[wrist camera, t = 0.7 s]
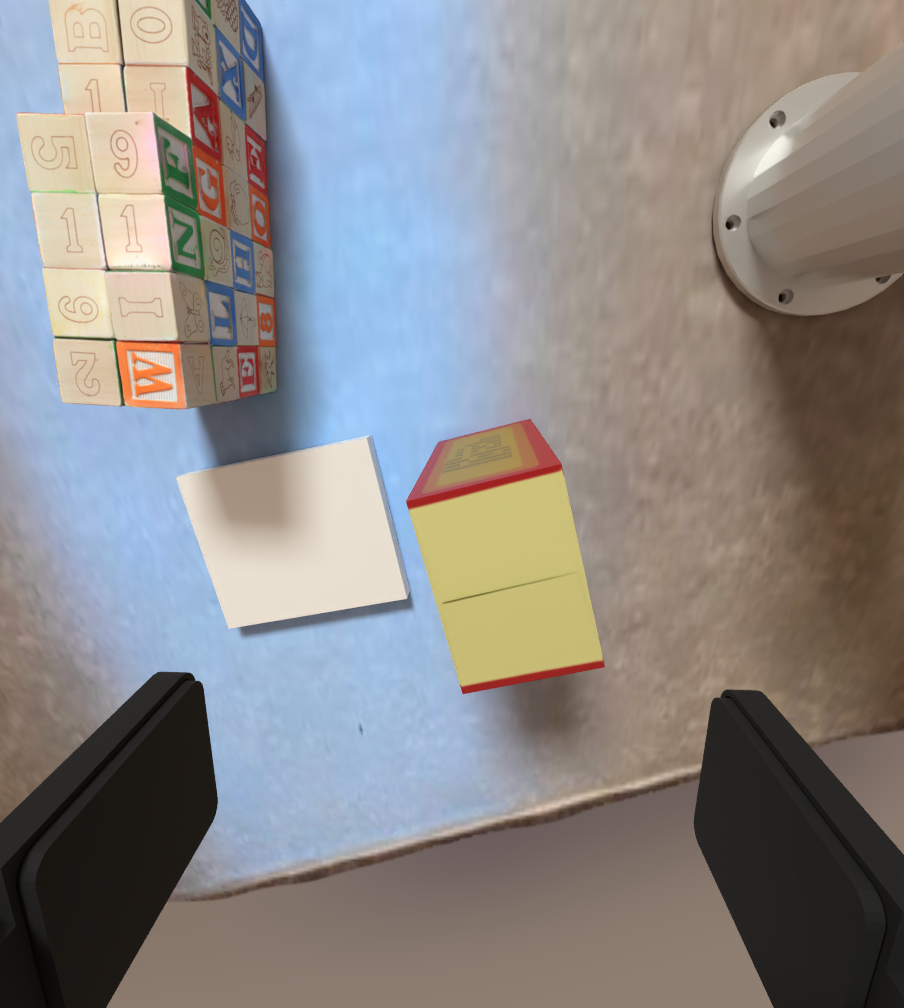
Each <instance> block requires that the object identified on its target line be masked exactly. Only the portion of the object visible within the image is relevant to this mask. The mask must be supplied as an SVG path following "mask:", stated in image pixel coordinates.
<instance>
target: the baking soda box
mask: <svg viewBox="0 0 904 1008" xmlns="http://www.w3.org/2000/svg"><path fill="white" fill-rule="evenodd" d="M406 502H407V506H408V509H409V513H410V516H411V519H412V523H413V526H414V530H415V533H416V536H417V540H418V543H419V547H420V550H421V553H422V557H423V560H424V564H425V567H426V570H427V574H428V577H429V581H430V584H431V587H432V591H433V594H434V598H435V601H436V604H437V608H438V611H439V615H440V618H441V622H442V625H443V628H444V632H445V635H446V639H447V642H448V645H449V649H450V652H451V656H452V659H453V662H454V666H455V669H456V673H457V676H458V679H459V683H460V686H461V690H462V693H463V694H466V693H471V692H477V691H482V690H487V689H492V688H498V687H503V686H508V685H513V684H519V683H524V682H529V681H534V680H540V679H545V678H550V677H555V676H561V675H566V674H571V673H576V672H582V671H587V670H592V669H597V668H603V667H605V666H604V661H603V656H602V652H601V647H600V642H599V638H598V633H597V628H596V624H595V619H594V614H593V610H592V605H591V600H590V596H589V591H588V586H587V582H586V577H585V572H584V567H583V563H582V558H581V553H580V549H579V544H578V539H577V535H576V530H575V525H574V521H573V516H572V511H571V507H570V502H569V497H568V493H567V488H566V483H565V479H564V474H563V469H562V465H561V463H560V461H559V460H558V458H557V457H556V455H555V454H554V452H553V451H552V450H551V448H550V447H549V445H548V444H547V442H546V441H545V439H544V438H543V437H542V435H541V434H540V432H539V431H538V429H537V428H536V426H535V425H534V424H533V422H532V421H531V419H528V420H524V421H520V422H516V423H512V424H508V425H504V426H500V427H496V428H492V429H488V430H484V431H480V432H476V433H473V434H469V435H465V436H461V437H457V438H453V439H449V440H445V441H441V442H438V444H437V446H436V447H435V449H434V451H433V453H432V455H431V457H430V458H429V460H428V462H427V464H426V466H425V468H424V469H423V471H422V473H421V475H420V477H419V479H418V480H417V482H416V484H415V486H414V488H413V489H412V491H411V493H410V495H409V497H408V499H407V500H406Z"/></svg>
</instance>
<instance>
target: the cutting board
mask: <svg viewBox="0 0 904 1008" xmlns="http://www.w3.org/2000/svg"><path fill="white" fill-rule="evenodd" d="M176 479H177V482H178V485H179V488H180V491H181V493H182V496H183V499H184V502H185V505H186V508H187V511H188V513H189V516H190V519H191V522H192V525H193V528H194V531H195V533H196V536H197V539H198V542H199V545H200V548H201V551H202V553H203V556H204V559H205V562H206V565H207V568H208V571H209V573H210V576H211V579H212V582H213V585H214V588H215V590H216V593H217V596H218V599H219V602H220V605H221V608H222V610H223V613H224V616H225V619H226V622H227V625H228V628H229V629H230V628H236V627H242V626H248V625H254V624H260V623H266V622H272V621H278V620H284V619H290V618H296V617H302V616H307V615H313V614H319V613H325V612H331V611H337V610H343V609H349V608H355V607H361V606H367V605H373V604H379V603H385V602H391V601H397V600H403V599H407V598H408V595H409V591H410V588H409V584H408V580H407V576H406V572H405V568H404V564H403V560H402V556H401V552H400V548H399V544H398V540H397V536H396V532H395V528H394V524H393V520H392V516H391V512H390V508H389V504H388V500H387V496H386V492H385V488H384V484H383V480H382V476H381V472H380V468H379V464H378V460H377V456H376V452H375V448H374V444H373V440H372V436H371V435H369V436H364V437H359V438H354V439H349V440H344V441H339V442H335V443H330V444H325V445H320V446H315V447H310V448H305V449H300V450H296V451H291V452H286V453H281V454H276V455H271V456H266V457H262V458H257V459H252V460H247V461H242V462H237V463H232V464H227V465H223V466H218V467H213V468H208V469H203V470H198V471H193V472H189V473H185V474H183V475H180V476H178V477H176Z"/></svg>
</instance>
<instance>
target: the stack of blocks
mask: <svg viewBox="0 0 904 1008" xmlns="http://www.w3.org/2000/svg"><path fill="white" fill-rule="evenodd" d="M49 6H50V14H51V21H52V28H53V35H54V41H55V49H56V56H57V60H58V63H59V67H58V71H59V79H60V86H61V93H62V99H63V105H64V111H65V114H42V113H17V114H16V116H17V124H18V130H19V136H20V142H21V148H22V152H23V158H24V165H25V171H26V176H27V182H28V188H29V190H30V192H31V197H32V206H33V213H34V219H35V224H36V229H37V234H38V241H39V248H40V253H41V258H42V262H43V265H44V268H43V270H42V271H43V278H44V284H45V290H46V296H47V303H48V309H49V315H50V321H51V326H52V332H53V335H54V336H55V339H54V340H53V348H54V354H55V361H56V367H57V374H58V380H59V387H60V394H61V398H62V401H63V402H64V403H71V404H88V405H104V406H125V405H126V406H130V407H145V408H165V409H189V408H194V407H199V406H204V405H209V404H220V403H222V402H228V401H234V400H237V399H240V398H245V397H249V396H253V395H257V394H264V393H270V392H275V391H277V378H276V351H275V347H276V321H275V300H274V266H273V251H272V249H271V245H270V244H271V237H270V217H269V199H268V197H267V168H266V148H265V142H266V140H267V133H266V111H265V89H264V83H263V81H264V73H263V53H262V31H261V24H260V22H259V20H258V19H257V17H256V16H255V14H254V13H253V12H252V10H251V8H250V7H249V5H248V4H247V2H246V1H245V0H49Z"/></svg>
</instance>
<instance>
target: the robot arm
mask: <svg viewBox="0 0 904 1008" xmlns="http://www.w3.org/2000/svg"><path fill="white" fill-rule="evenodd" d="M770 122H772V123H773V125H774V126H773V127H772V126H771V125H770ZM726 222H728V223H730V229H729V230H728V229H727V228H726V226H725V223H726ZM713 235H714V240H715V244H716V249H717V253H718V256H719V259H720V261H721V263H722V265H723V268H724V270H725V272H726V274H727V275H728V277H729V278H730V279H731V281H732V282H733V283H734V285H735V286H736V288H737V289H738V290H740V291H741V292H742V293H743V294H744V295H745V296H746V297H748V298H749V299H750V300H751V301H753V302H755V303H756V304H758V305H760V306H762V307H764V308H766V309H767V310H771V311H774V312H778V313H781V314H784V315H793V316H815V315H825V314H829V313H834V312H839V311H844V310H846V309H849V308H851V307H854V306H856V305H859V304H861V303H864V302H866V301H867V300H869V299H871V298H872V297H874V296H876V295H877V294H879V293H881V292H882V291H884V290H885V289H886V288H888V287H889V286H890V285H891V284H892V283H893V282H895V281H896V280H897V279H898V278H899V277H901V276H902V275H903V274H904V41H903V42H902V43H901V44H899V45H898V46H897V47H895V48H894V49H893V50H891V51H890V52H889V53H887V54H886V55H885V56H883V57H882V58H881V59H879V60H878V61H877V62H876V63H874V64H873V65H872V66H870V67H869V68H868V69H866V70H865V71H864V72H862V73H860V72H847V73H841V74H834V75H828V76H825V77H822V78H819V79H817V80H814V81H811V82H808V83H806V84H804V85H802V86H800V87H799V88H797V89H795V90H793V91H792V92H790V93H788V94H787V95H785V96H783V97H782V98H781V99H780V100H778V101H777V102H776V103H775V104H773V105H772V106H771V107H770V108H769V109H767V110H766V111H765V112H764V113H763V114H762V115H761V116H760V117H759V118H758V119H757V120H756V121H755V122H754V123H753V124H752V125H751V126H750V127H749V128H748V129H747V131H746V132H745V133H744V135H743V136H742V137H741V139H740V140H739V142H738V143H737V144H736V146H735V147H734V149H733V151H732V153H731V155H730V157H729V159H728V161H727V162H726V164H725V166H724V168H723V171H722V174H721V177H720V180H719V183H718V187H717V190H716V195H715V201H714V208H713ZM875 278H876V279H875ZM779 294H780V295H781V296H782V300H781V301H780V302H779V299H778V297H779ZM217 804H218V797H217V789H216V782H215V774H214V766H213V758H212V751H211V743H210V735H209V727H208V720H207V712H206V704H205V696H204V689H203V685H202V683H201V682H199V681H195V678H194V676H193V675H192V674H191V673H185V672H157V673H156V674H154V675H153V676H152V677H151V678H150V679H149V680H148V681H147V682H146V683H145V684H144V685H143V686H142V687H141V688H140V689H139V690H137V691H136V692H135V693H134V694H133V695H132V696H131V697H130V698H129V699H128V700H127V701H126V702H125V703H124V704H123V705H122V706H121V707H120V708H119V709H118V710H117V711H116V712H115V713H114V714H113V715H112V716H111V717H110V718H109V719H107V720H106V721H105V722H104V723H103V724H102V725H101V726H100V727H99V728H98V729H97V730H96V731H95V732H94V733H93V734H92V735H91V736H90V737H89V738H88V739H87V740H86V741H85V742H84V743H83V744H82V745H81V746H80V747H79V748H78V749H76V750H75V751H74V752H73V753H72V754H71V755H70V756H69V757H68V758H67V759H66V760H65V761H64V762H63V763H62V764H61V765H60V766H59V767H58V768H57V769H56V770H55V771H54V772H53V773H52V774H51V775H50V776H49V777H48V778H46V779H45V780H44V781H43V782H42V783H41V784H40V785H39V786H38V787H37V788H36V789H35V790H34V791H33V792H32V793H31V794H30V795H29V796H28V797H27V798H26V799H25V800H24V801H23V802H22V803H21V804H20V805H19V806H18V807H16V808H15V809H14V810H13V811H12V812H11V813H10V814H9V815H8V816H7V817H6V818H5V819H4V820H3V821H2V822H1V823H0V1008H106V1007H107V1005H108V1003H109V1002H110V1000H111V998H112V996H113V994H114V993H115V991H116V989H117V988H118V986H119V984H120V982H121V981H122V979H123V977H124V975H125V974H126V972H127V970H128V968H129V967H130V965H131V963H132V961H133V960H134V958H135V956H136V955H137V953H138V951H139V949H140V948H141V946H142V944H143V942H144V940H145V939H146V937H147V935H148V934H149V932H150V930H151V928H152V927H153V925H154V923H155V921H156V920H157V918H158V916H159V914H160V912H161V911H162V909H163V908H164V906H165V904H166V902H167V901H168V899H169V897H170V895H171V894H172V892H173V890H174V888H175V887H176V885H177V883H178V881H179V880H180V878H181V876H182V874H183V873H184V871H185V869H186V867H187V866H188V864H189V862H190V861H191V859H192V857H193V855H194V854H195V852H196V850H197V848H198V847H199V845H200V843H201V841H202V840H203V838H204V836H205V834H206V833H207V831H208V829H209V827H210V826H211V824H212V822H213V820H214V817H215V814H216V810H217ZM694 829H695V835H696V839H697V841H698V844H699V846H700V848H701V851H702V853H703V855H704V857H705V860H706V862H707V864H708V866H709V868H710V870H711V873H712V875H713V877H714V879H715V881H716V883H717V886H718V888H719V890H720V892H721V894H722V896H723V898H724V901H725V903H726V905H727V907H728V909H729V911H730V913H731V916H732V918H733V920H734V922H735V925H736V927H737V929H738V931H739V933H740V935H741V937H742V940H743V942H744V944H745V946H746V948H747V951H748V953H749V955H750V957H751V959H752V961H753V964H754V966H755V968H756V970H757V972H758V975H759V977H760V979H761V981H762V983H763V985H764V987H765V990H766V992H767V994H768V996H769V998H770V1001H771V1003H772V1005H773V1007H774V1008H904V855H903V854H902V852H901V851H900V850H899V849H898V848H897V847H896V845H895V844H894V843H893V842H892V841H891V840H890V839H889V837H888V836H887V835H886V834H885V833H884V831H883V830H882V829H881V828H880V827H879V826H878V825H877V823H876V822H875V821H874V820H873V819H872V818H871V817H870V815H869V814H868V813H867V812H866V811H865V810H864V808H863V807H862V806H861V805H860V804H859V803H858V802H857V801H856V799H855V798H854V797H853V796H852V795H851V794H850V792H849V791H848V790H847V789H846V788H845V787H844V786H843V784H842V783H841V782H840V781H839V780H838V779H837V777H836V776H835V775H834V774H833V773H832V772H831V771H830V769H829V768H828V767H827V766H826V765H825V764H824V762H823V761H822V760H821V759H820V758H819V757H818V755H817V754H816V753H815V752H814V751H813V750H812V749H811V747H810V746H809V745H808V744H807V743H806V742H805V740H804V739H803V738H802V737H801V736H800V735H799V734H798V732H797V731H796V730H795V729H794V728H793V727H792V725H791V724H790V723H789V722H788V721H787V720H786V719H785V717H784V716H783V715H782V714H781V713H780V712H779V711H778V709H777V708H776V707H775V706H774V705H773V704H772V702H771V701H770V700H769V699H768V698H767V697H766V696H765V695H764V694H763V693H762V692H761V691H756V690H725V691H723V693H722V694H721V698H714V699H713V701H712V704H711V709H710V716H709V722H708V729H707V735H706V742H705V749H704V755H703V762H702V769H701V775H700V783H699V788H698V795H697V803H696V808H695V815H694Z"/></svg>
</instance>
